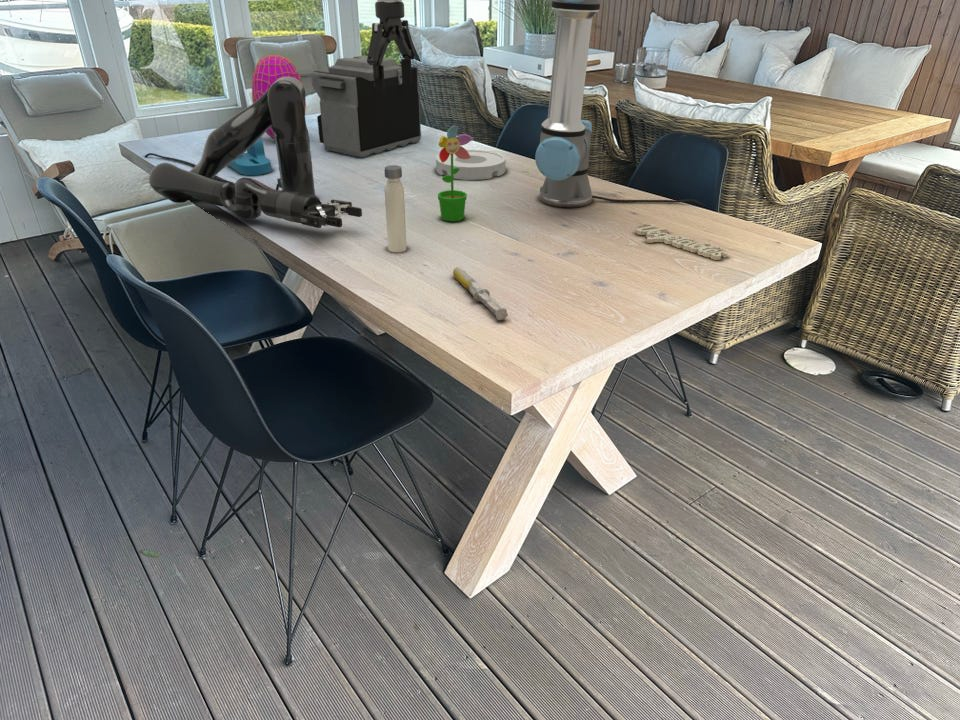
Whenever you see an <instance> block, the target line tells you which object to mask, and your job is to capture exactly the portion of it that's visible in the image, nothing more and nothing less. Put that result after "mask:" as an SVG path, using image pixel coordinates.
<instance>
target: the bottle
mask: <svg viewBox="0 0 960 720" xmlns="http://www.w3.org/2000/svg"><path fill="white" fill-rule="evenodd" d="M383 191H384V204H385V205H384V206H385V220H386V221H385V222H386V238H387V251H389V252H391V253H404V252H405V251H406V250H407V229H406V228H407V227H406V209H405V187H404V185H403V183H402V181H401V179H400V178H398V179H388V178H387V180H386V183H385V185H384V190H383Z"/></svg>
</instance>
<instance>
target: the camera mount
mask: <svg viewBox="0 0 960 720" xmlns="http://www.w3.org/2000/svg"><path fill="white" fill-rule="evenodd" d="M227 166H228V167H230V168H231V169H232V170H234V171H236V172H237V173H238V174H239V175H244V176H260V175H265V174H268V173H271V172H272V164H271V159H270V158H268V157H267V156H266V153H265V145H264V141H263V139H262V136H261V137H260V139H259V140H258V141H257V142H256V143H255V144H254V145H253V146H252V147H250V148H249V149H248V150H247V151H246V152H245V153H243V154H242V155H241V156H239V157H238V158H237V159H235V160H234V161H233V162H231V163H230V164H229V165H227Z"/></svg>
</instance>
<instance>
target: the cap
mask: <svg viewBox="0 0 960 720" xmlns="http://www.w3.org/2000/svg"><path fill="white" fill-rule="evenodd" d="M384 177H385V179H387V180H388V179H398V178H399V179H401V178H402V177H403V170H402V166H401V165H395V164H393V165H390V164H389V165H386V166H384Z"/></svg>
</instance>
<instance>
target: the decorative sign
mask: <svg viewBox="0 0 960 720" xmlns="http://www.w3.org/2000/svg"><path fill="white" fill-rule="evenodd" d="M636 234H637V235H640V236H645V237H646V243H647V244H653V243H663V244H666V245H671V246H672V247H675V248H678V249H682V250H684V251H688V252H689V253H695V254H697V255H699V256H703V257H705V258H711V259H712V260H715V261H720V260H721V259H722V258H727V256H728V252H727V251H724V250H721V246H720V245H711V243H710V242H697V243H696V242H695V240H694V239H693V238H691V237H685V236H683V235H679V236H675V235H673V234H669V233H668V228H667V227H659V228H656V224H653V223H647V222H646V223H645V222H643V223H642V226H641V227H639V228H637V229H636Z"/></svg>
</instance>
